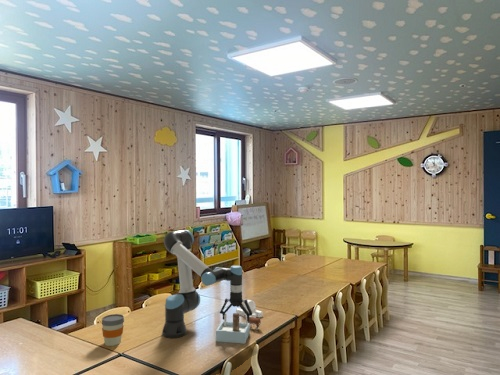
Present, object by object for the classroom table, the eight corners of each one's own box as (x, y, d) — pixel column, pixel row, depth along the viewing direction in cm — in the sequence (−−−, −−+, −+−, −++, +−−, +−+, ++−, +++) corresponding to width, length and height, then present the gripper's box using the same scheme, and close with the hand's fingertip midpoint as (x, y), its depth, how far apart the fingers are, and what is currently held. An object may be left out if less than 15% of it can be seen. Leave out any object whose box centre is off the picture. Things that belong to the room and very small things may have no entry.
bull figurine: (246, 324, 249) (246, 312, 249) (261, 329, 241) (261, 316, 241) (242, 326, 246) (242, 314, 246) (257, 331, 237) (257, 318, 238)
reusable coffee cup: (114, 336, 226) (114, 312, 227) (128, 341, 220) (128, 316, 220) (96, 344, 216) (97, 318, 216) (111, 349, 209) (111, 322, 209)
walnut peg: (232, 339, 224) (232, 314, 224) (233, 336, 228) (233, 312, 228) (238, 339, 223) (238, 315, 223) (239, 337, 227) (239, 313, 227)
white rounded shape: (262, 316, 265) (262, 301, 265) (253, 320, 258) (253, 304, 258) (245, 310, 278) (245, 296, 278) (235, 314, 271) (236, 299, 271)
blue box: (215, 341, 221) (215, 330, 221) (222, 331, 237) (222, 321, 237) (244, 343, 218) (245, 332, 218) (249, 333, 234) (249, 323, 234)
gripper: (215, 291, 224) (214, 326, 224) (255, 293, 220) (254, 329, 220) (218, 288, 232) (217, 322, 232) (256, 290, 228) (256, 324, 228)
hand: (235, 325), depth 226 cm, fingers open, 13 cm apart
